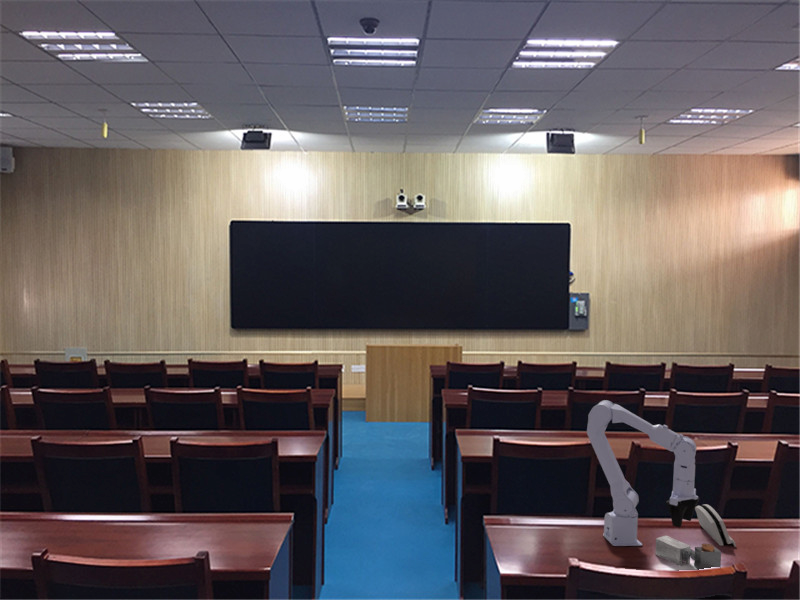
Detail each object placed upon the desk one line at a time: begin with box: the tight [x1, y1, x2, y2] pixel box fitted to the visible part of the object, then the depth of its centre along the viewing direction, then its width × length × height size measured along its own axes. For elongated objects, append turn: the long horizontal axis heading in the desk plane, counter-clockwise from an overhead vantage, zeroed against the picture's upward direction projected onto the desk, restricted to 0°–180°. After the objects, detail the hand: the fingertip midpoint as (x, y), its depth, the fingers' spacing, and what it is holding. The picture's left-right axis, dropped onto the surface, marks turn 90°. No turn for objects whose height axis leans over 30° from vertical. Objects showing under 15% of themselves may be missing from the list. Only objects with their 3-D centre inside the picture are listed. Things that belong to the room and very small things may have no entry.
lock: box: [654, 535, 692, 567], centre depth 172 cm, size 8×5×5 cm, turn 29°
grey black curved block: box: [694, 504, 737, 547], centre depth 190 cm, size 17×5×10 cm, turn 172°
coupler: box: [690, 543, 722, 570], centre depth 170 cm, size 6×11×6 cm, turn 4°
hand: (681, 523), depth 175 cm, fingers open, 7 cm apart
